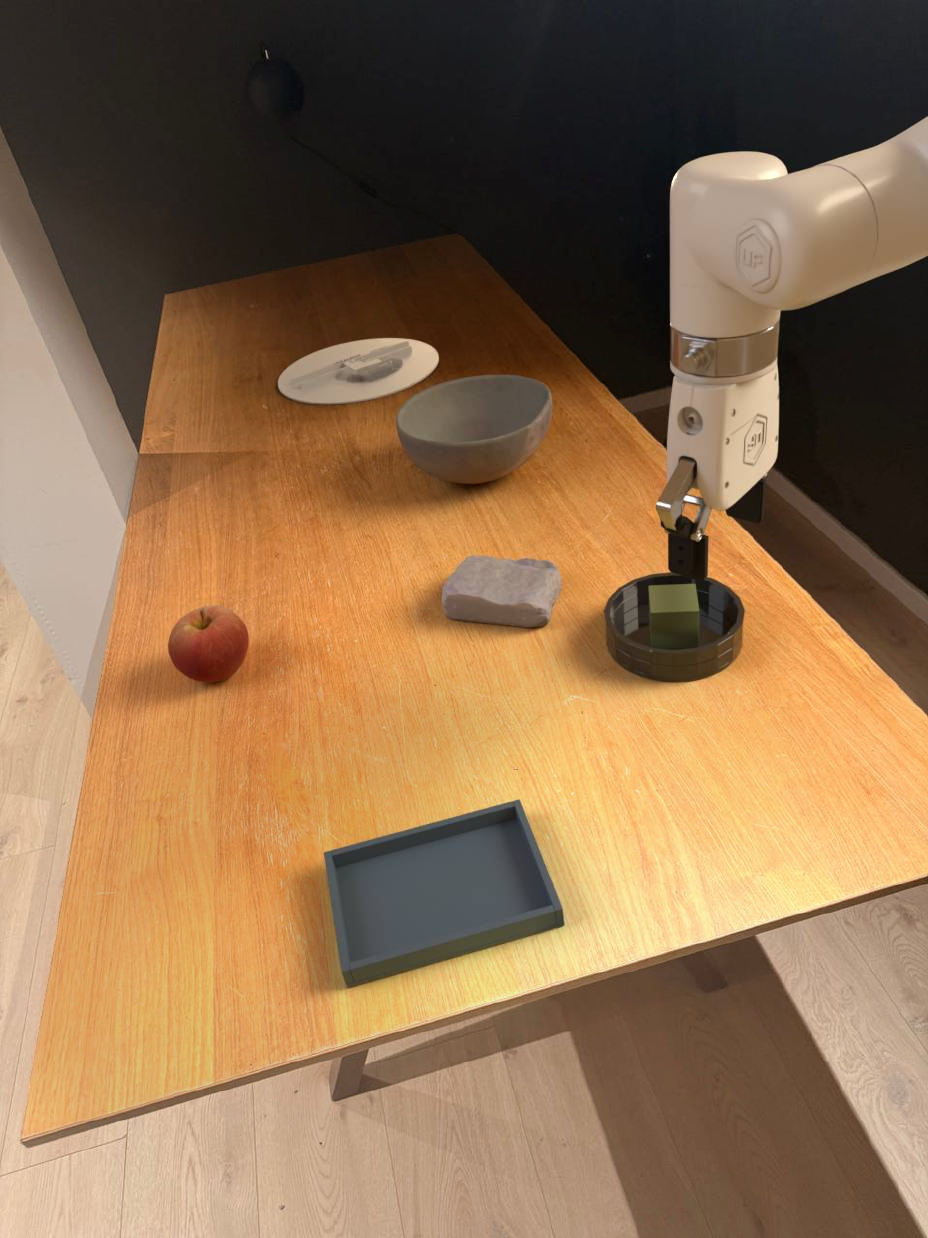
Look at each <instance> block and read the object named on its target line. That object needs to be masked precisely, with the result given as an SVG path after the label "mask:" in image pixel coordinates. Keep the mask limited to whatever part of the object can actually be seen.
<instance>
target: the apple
mask: <svg viewBox="0 0 928 1238" xmlns="http://www.w3.org/2000/svg"><path fill="white" fill-rule="evenodd" d="M170 631H171V632H170V634H169V638H168V642H167V651H168V655H169V658H170V660H171V662H172V664H173V666H174V667H175V668H176V669H177V670H178V671H179V672H180V673H181V674H182V675H184V676H185V677H186V678H187V679H189V680H192V681H195V682H199V683H207V684H208V683H215V682H216V683H217V682H222V681H226V680H228V679H229V678H231V677H232V676H234V675H235V673H237V672H238V670H239V669H241V666H242V665H243V663H244V662H245V660H246V657H247V653H248V649H249V643H250V638H249V637H250V636H249V631H248V628H247V626H246V624H245V622H244V621H243V620H242V619H241V617H240V616H238V614H236V612H234V611H233V610H231V609H230V608H228V607H225V606H223V605H217V604H209V605H204V606H201V607H199V608H197V609H196V608H195V609H193V610H192V611H190V612H188V613H186V614H185V615H183V616H182V617H181V618H179V620H178V621H177V622H176V623H175V624H174V626H173V627H172V629H171V630H170Z"/></svg>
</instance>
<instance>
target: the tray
mask: <svg viewBox="0 0 928 1238" xmlns="http://www.w3.org/2000/svg"><path fill="white" fill-rule="evenodd" d="M323 859H324V865H325V871H326V878H327V885H328V891H329V899H330V904H331V910H332V918H333V924H334V931H335V939H336V945H337V951H338V952H337V953H338V957H339V958H338V959H339V965H340V972H341V975H342V978H343V981H344V983H345V987H346V988H347V989H350V988H354V987H357V986H359V985H364V984H367V983H371V982H374V981H378V980H381V979H384V978H388V977H391V976H394V975H399V974H402V973H405V972H409V971H412V970H415V969H419V968H423V967H426V966H429V965H430V966H431V965H433V964H436V963H439V962H443V961H446V960H451V959H454V958H457V957H461V956H464V955H467V954H470V953H474V952H478V951H481V950H485V949H488V948H491V947H495V946H498V945H502V944H505V943H506V944H507V943H510V942H514V941H515V940H519V939H523V938H527V937H530V936H533V935H537V934H540V933H545V932H547V931H550V930H554V929H558V928H560V927H561V928H562V927H564V926H565V915H564V908H563V905H562V903H561V901H560V898H559V895H558V892H557V890H556V887H555V885H554V882H553V879H552V878H551V875H550V871H549V869H548V867H547V865H546V862H545V860H544V858H543V855H542V852H541V850H540V847H539V844H538V842H537V839H536V837H535V834H534V832H533V829H532V827H531V824H530V822H529V819H528V816H527V815H526V812H525V809H524V807H523V804H522V801H521V799H519V798H518V799H515V800H513V801H512V800H511V801H507V802H504V803H503V802H502V803H500V804H496V805H493V806H488V807H485V808H482V809H478V810H473V811H471V812H467V813H462V814H459V815H456V816H455V815H454V816H452V817H449V818H445V819H441V820H437V821H435V822H430V823H426V824H423V825H422V824H421V825H419V826H415V827H412V828H408V829H404V830H400V831H397V832H393V833H389V834H386V835H382V836H379V837H375V838H371V839H367V840H363V841H360V842H356V843H352V844H349V845H345V846H342V847H337V848H333V849H331V850H326V851H323Z"/></svg>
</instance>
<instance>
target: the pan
mask: <svg viewBox="0 0 928 1238" xmlns="http://www.w3.org/2000/svg"><path fill="white" fill-rule="evenodd" d="M677 584H696V591H697V598H698V606H699V647H697V648H687V649H659V648H651V642H650V627H649V587H648V586H652V585H677ZM745 618H746V609H745V607H744V604H743V601H742V599H741V597H740V596H739V595H738V594H737V593H736V592H735V591H734V590H733V589H732V588H731V587H730V586H728V585H726V584H725V583H722V582H721V581H718V580H717V579H715V578H713V577H709V576H707V577H706V578H705V579H704V580H703V581H698V580H695V579H691V578H688V577H685V576H681V575H678V574H675V573H672V572H670V571H668V572H660V573H659V572H658V573H651V574H648V575H644V576H640V577H637V578H634V579H632V580H630V581H628V582H626V583H625V584H623V585H621V586H619V587H618V588H617V589H616V590H615V591H614V592H613V593H612V594H611V595H610V596H609V597H608V598H607V600H606V603H605V607H604V609H603V622H604V623H603V624H604V626H603V627H604V638H605V645H606V648H607V651H608V654H609V655H610V657H611V658H612V660H613V661H614V662H615V663H616V664H617V665H619V666H620V667H621V668H623V669H624V670H626V671H627V672H629V673H631V674H633V675H635V676H638V677H641V678H644V679H647V680H651V681H655V682H656V681H658V682H665V683H684V682H686V683H687V682H692V681H698V680H702V679H703V680H704V679H706V678H709V677H712V676H714V675H716V674H718V673H720V672H722V671H724V670H725V669H727V668H729V667H730V666H731V665H732V664H733V663H734V662H735V661H736V660H737V658H738V657H739V656H740V653H741V651H742V648H743V643H744V635H745Z"/></svg>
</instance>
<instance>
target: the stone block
mask: <svg viewBox="0 0 928 1238" xmlns="http://www.w3.org/2000/svg"><path fill="white" fill-rule="evenodd" d="M562 586H563V584H562V577H561V572H560V569H559V567H558V566H557V565H556V563H554V562H553V561H551V560H548V559H544V560H541V559H534V558H528V557H524V558H519V559H516V560H515V559H512V558H511V559H510V558H497V557H494V556H488V555H474V554H472V555H469V556H466V557H465V559H463V561H461V563H459V564H458V565H457V567H456V569H455V571H453V572H452V573H451V574H450V576H449V577H448V578H447V579H446V580H445V582H444V584H443V587H442V589H441V606H442V609H443V613H444V615H445V617H446V618H447V619H450V620H453V621H461V622H471V623H477V624H490V625H498V626H512V627H517V628H535V627H538V628H540V627H541V628H542V627H543V628H544V627H546V626H547V625H548V623H549V622H550V621H551V620H552V613H553V611H552V609H553V605H554V604H555V603H556V602H557V600H558V598H559V596H560V594H561V591H562Z"/></svg>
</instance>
